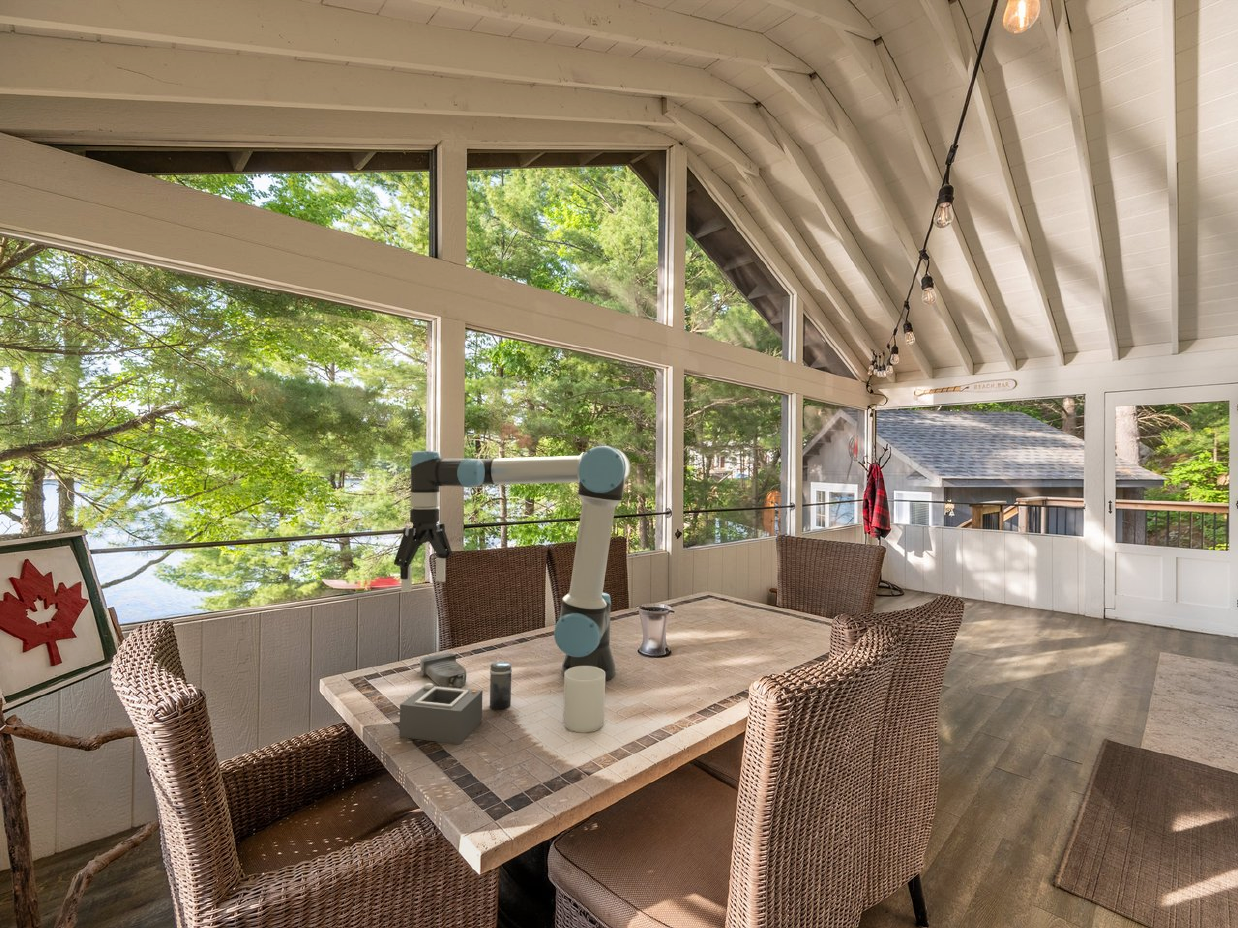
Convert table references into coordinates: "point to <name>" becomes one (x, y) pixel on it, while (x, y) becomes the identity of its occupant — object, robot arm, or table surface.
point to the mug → (584, 698)
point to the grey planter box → (441, 714)
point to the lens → (500, 685)
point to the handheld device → (444, 670)
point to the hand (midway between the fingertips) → (424, 586)
